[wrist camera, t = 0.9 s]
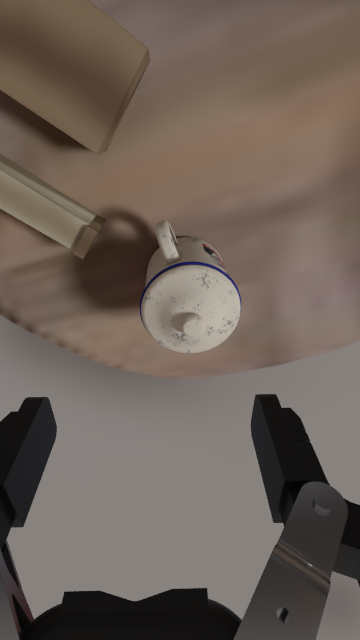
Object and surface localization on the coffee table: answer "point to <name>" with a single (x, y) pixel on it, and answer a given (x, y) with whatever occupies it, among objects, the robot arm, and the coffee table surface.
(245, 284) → the coffee table surface
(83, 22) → the tan rectangular block
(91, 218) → the cream long bar
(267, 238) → the coffee table surface
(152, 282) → the teacup with lid
